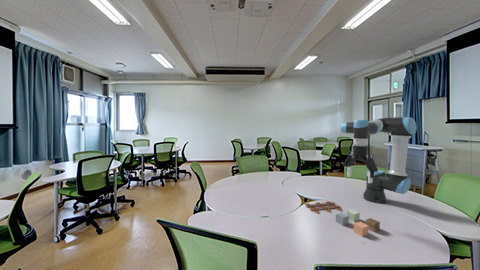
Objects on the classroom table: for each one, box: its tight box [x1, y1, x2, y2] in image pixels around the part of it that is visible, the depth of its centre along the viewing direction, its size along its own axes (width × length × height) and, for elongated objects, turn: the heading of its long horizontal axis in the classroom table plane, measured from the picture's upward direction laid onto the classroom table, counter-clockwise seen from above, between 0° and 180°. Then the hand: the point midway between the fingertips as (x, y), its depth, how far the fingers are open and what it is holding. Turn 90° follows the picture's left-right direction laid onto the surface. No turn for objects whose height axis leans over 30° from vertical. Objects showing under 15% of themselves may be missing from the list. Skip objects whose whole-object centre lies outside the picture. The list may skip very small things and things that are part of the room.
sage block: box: [346, 209, 361, 223], centre depth 124 cm, size 5×5×5 cm
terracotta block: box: [353, 221, 369, 238], centre depth 109 cm, size 5×5×5 cm
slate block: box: [335, 212, 350, 227], centre depth 120 cm, size 5×5×5 cm
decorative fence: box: [304, 201, 343, 215], centre depth 141 cm, size 23×2×15 cm
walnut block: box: [364, 217, 381, 233], centre depth 113 cm, size 5×5×5 cm
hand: (359, 179), depth 119 cm, fingers open, 13 cm apart
